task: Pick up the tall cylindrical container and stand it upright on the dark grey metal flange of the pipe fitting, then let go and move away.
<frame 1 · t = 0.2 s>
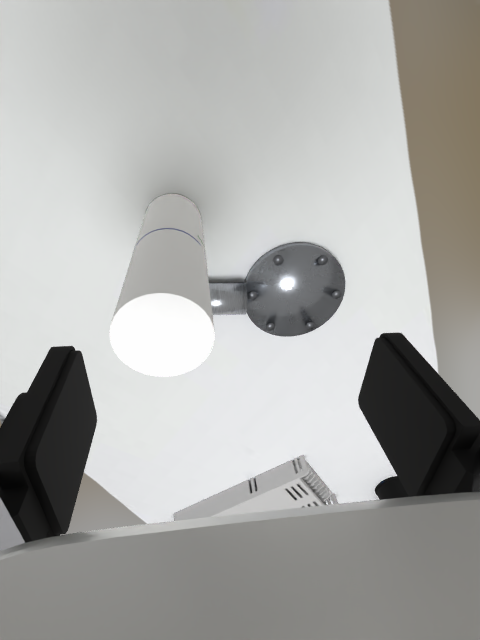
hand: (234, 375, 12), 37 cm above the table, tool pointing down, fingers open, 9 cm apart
power supply unit: (255, 499, 85), on the table
flange fitting: (292, 290, 53), on the table
cylindrical container: (173, 221, 46), on the table
aerosol can: (391, 485, 87), on the table
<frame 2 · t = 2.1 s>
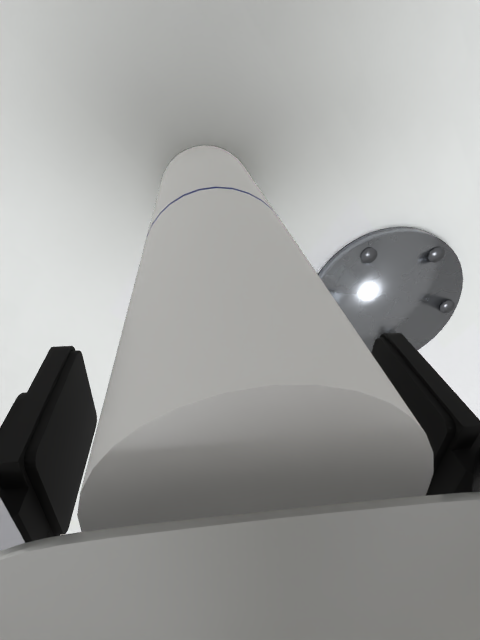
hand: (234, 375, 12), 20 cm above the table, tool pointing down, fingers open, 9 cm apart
flange fitting: (380, 301, 36), on the table
cylindrical container: (206, 195, 28), on the table
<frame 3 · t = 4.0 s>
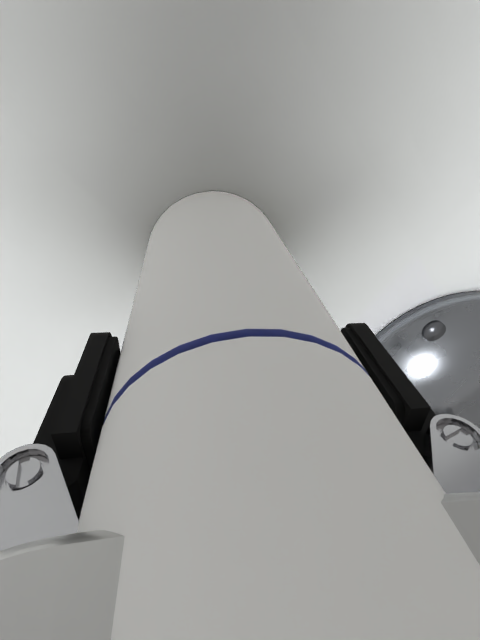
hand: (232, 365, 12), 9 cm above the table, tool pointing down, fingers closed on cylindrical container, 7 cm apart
flange fitting: (438, 379, 27), on the table
cylindrical container: (213, 256, 20), on the table, touching gripper
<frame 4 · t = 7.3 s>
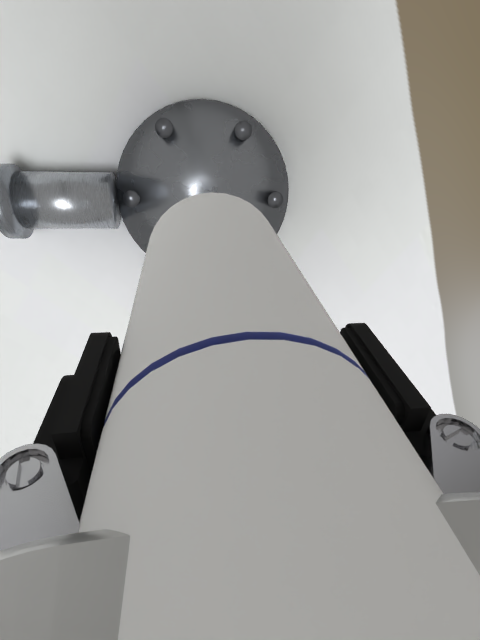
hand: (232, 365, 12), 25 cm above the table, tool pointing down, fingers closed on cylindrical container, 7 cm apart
flange fitting: (204, 195, 33), on the table
cylindrical container: (213, 257, 20), point 15 cm above the table, touching gripper
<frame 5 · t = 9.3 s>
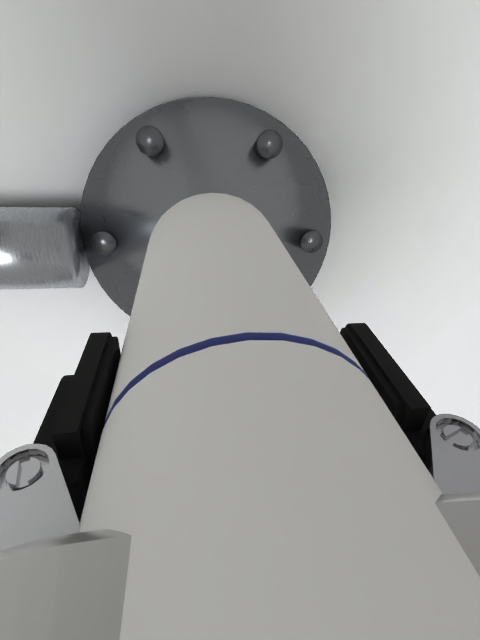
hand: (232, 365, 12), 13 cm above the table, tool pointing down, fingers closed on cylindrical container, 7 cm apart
flange fitting: (210, 234, 23), on the table
cylindrical container: (213, 258, 20), point 4 cm above the table, touching gripper
when the fingers open (11 cm above the table, at t = 10.8 s): cylindrical container stays where it is, resting on flange fitting.
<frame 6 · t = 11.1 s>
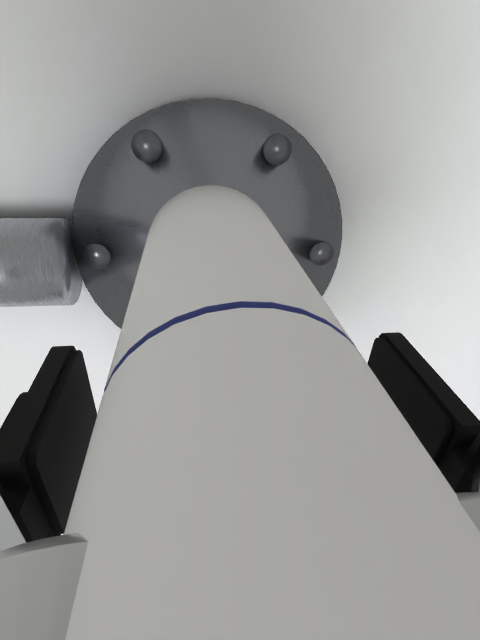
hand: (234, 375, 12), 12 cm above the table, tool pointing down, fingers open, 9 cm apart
flange fitting: (212, 246, 21), on the table
cylindrical container: (212, 250, 20), point 1 cm above the table, touching flange fitting
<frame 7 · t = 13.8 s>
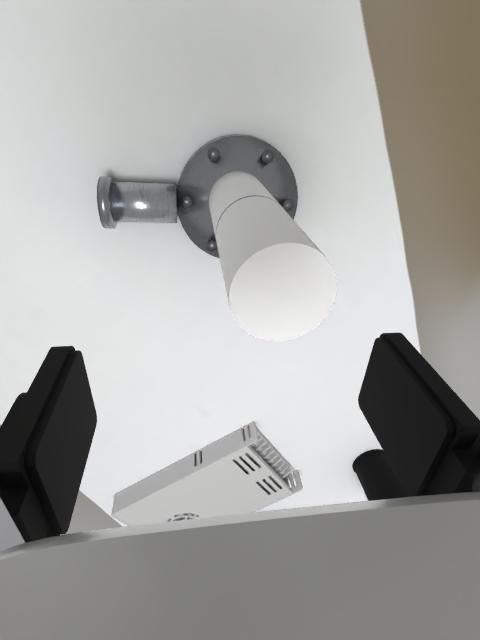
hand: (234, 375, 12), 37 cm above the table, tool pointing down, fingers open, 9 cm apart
power supply unit: (208, 478, 75), on the table
flange fitting: (237, 201, 46), on the table
cylindrical container: (237, 201, 45), point 1 cm above the table, touching flange fitting
aerosol can: (370, 461, 78), on the table
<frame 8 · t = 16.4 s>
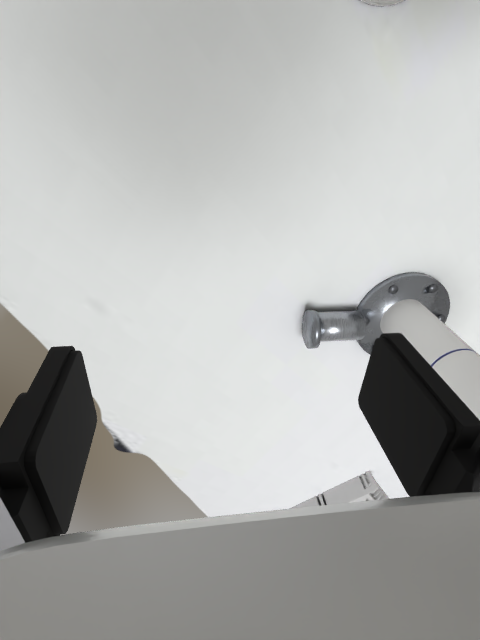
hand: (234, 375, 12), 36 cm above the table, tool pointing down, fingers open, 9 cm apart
power supply unit: (320, 514, 88), on the table
flange fitting: (398, 315, 57), on the table
cylindrical container: (401, 318, 56), point 1 cm above the table, touching flange fitting
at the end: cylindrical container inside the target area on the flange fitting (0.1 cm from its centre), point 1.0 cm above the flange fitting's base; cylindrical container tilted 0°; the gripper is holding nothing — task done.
